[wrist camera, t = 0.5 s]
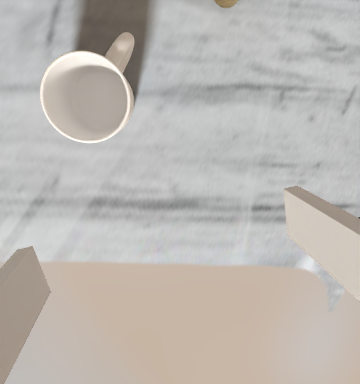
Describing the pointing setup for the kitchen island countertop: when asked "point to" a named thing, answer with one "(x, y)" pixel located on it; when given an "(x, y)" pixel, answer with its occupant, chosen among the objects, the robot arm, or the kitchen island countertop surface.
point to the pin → (226, 3)
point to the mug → (89, 92)
